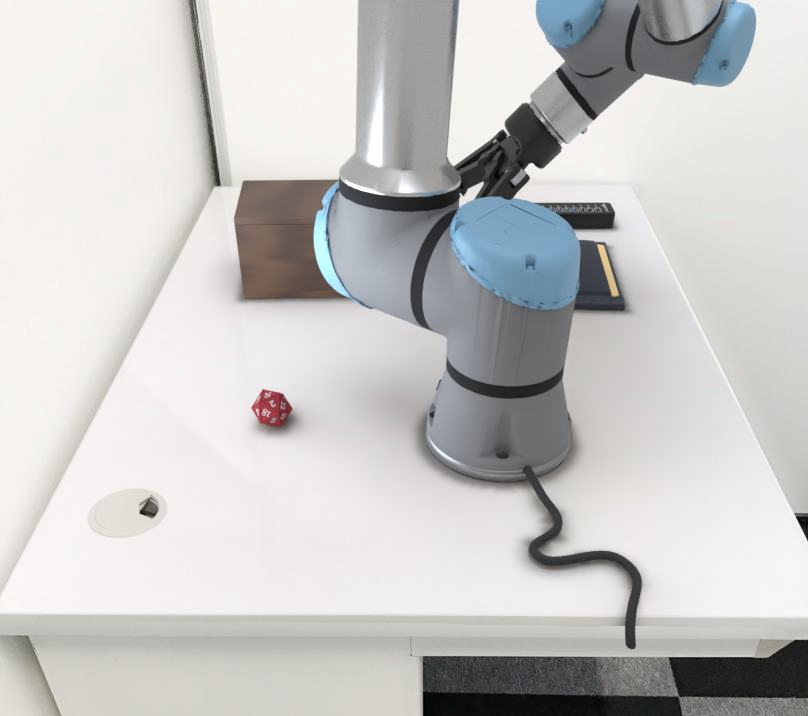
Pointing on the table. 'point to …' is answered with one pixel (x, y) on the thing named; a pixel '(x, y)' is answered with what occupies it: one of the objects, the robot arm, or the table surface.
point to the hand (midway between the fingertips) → (422, 242)
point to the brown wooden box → (280, 238)
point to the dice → (271, 408)
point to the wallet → (597, 279)
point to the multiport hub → (584, 214)
